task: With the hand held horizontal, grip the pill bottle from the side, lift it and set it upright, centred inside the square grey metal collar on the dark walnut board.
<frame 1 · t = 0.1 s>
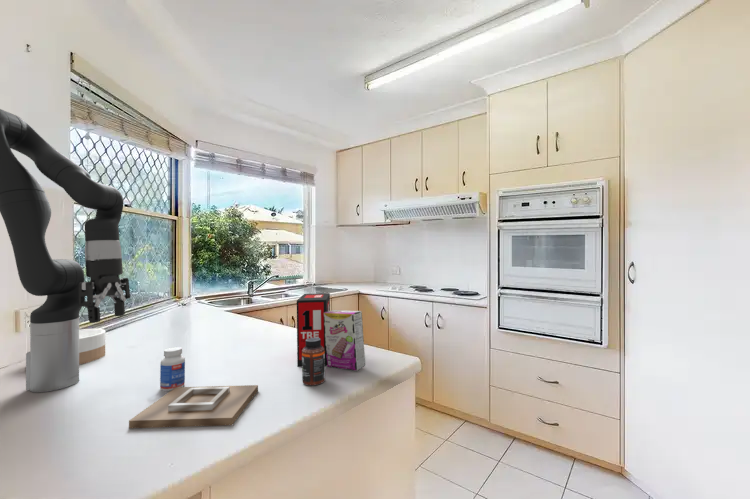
hand: (107, 318, 86), 17 cm above the counter, tool pointing down, fingers open, 8 cm apart
bowl: (71, 360, 107), on the counter
pill bottle: (172, 387, 84), on the counter
supplement bottle: (313, 382, 86), on the counter
candy bar box: (346, 367, 96), on the counter
walnut board: (200, 407, 72), on the counter
cleaning product box: (315, 358, 106), on the counter
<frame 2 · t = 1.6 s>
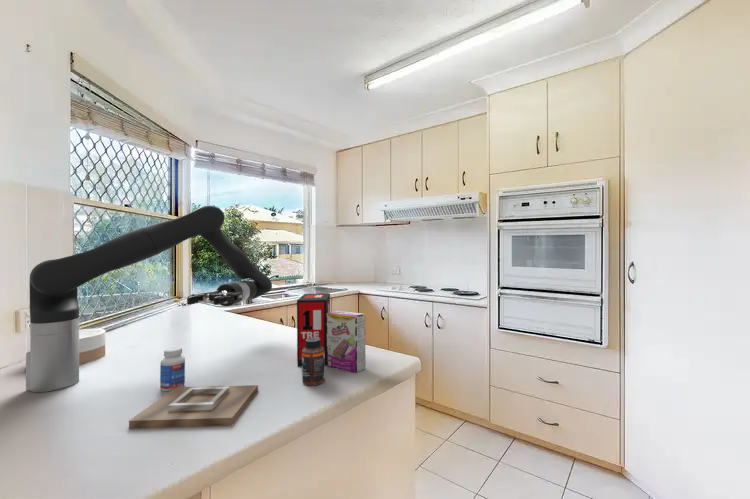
hand: (201, 301, 95), 21 cm above the counter, tool horizontal, fingers open, 8 cm apart
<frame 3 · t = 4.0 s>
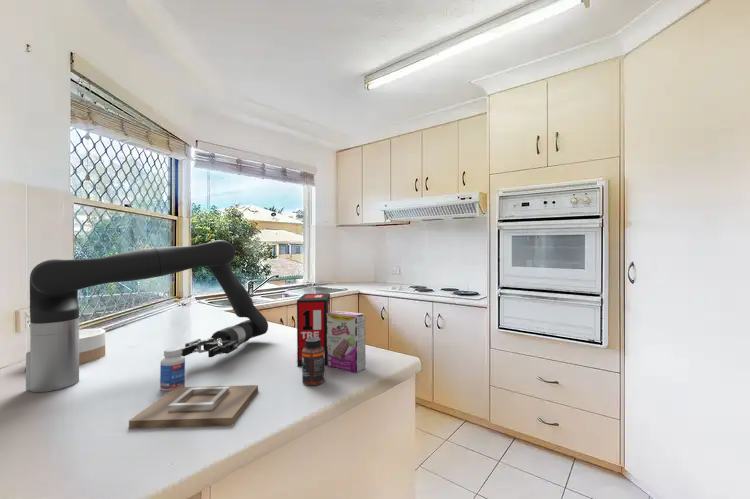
hand: (195, 353, 92), 6 cm above the counter, tool horizontal, fingers open, 8 cm apart
nothing on the counter moved.
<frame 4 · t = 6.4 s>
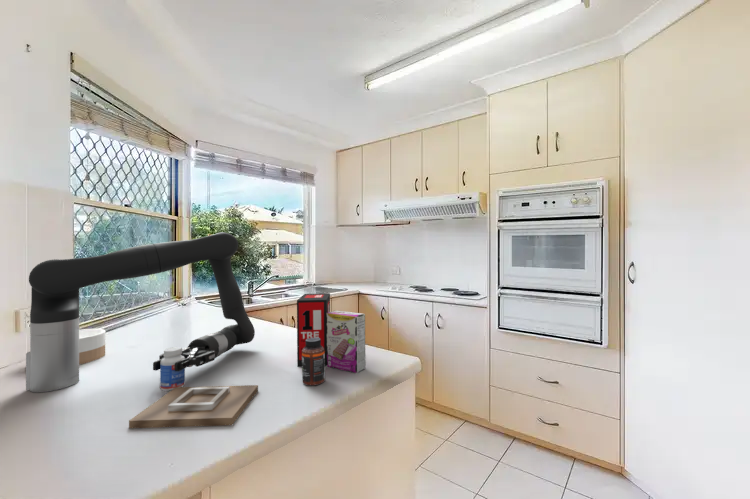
hand: (165, 366, 81), 6 cm above the counter, tool horizontal, fingers closed on pill bottle, 5 cm apart
pill bottle: (172, 387, 84), on the counter, touching gripper
everything else where it was.
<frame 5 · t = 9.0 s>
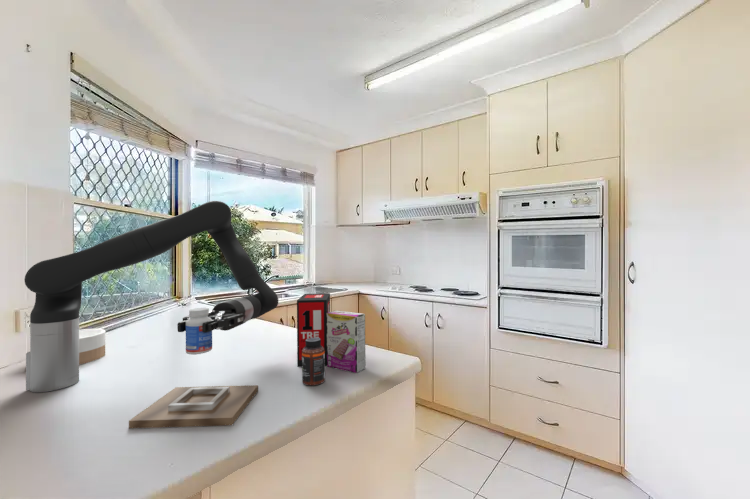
hand: (191, 327, 72), 18 cm above the counter, tool horizontal, fingers closed on pill bottle, 5 cm apart
pill bottle: (199, 352, 75), point 12 cm above the counter, touching gripper
everything else where it was.
when the fingers open (9 cm above the counter, at t = 11.4 s): pill bottle drops 1 cm, resting on walnut board.
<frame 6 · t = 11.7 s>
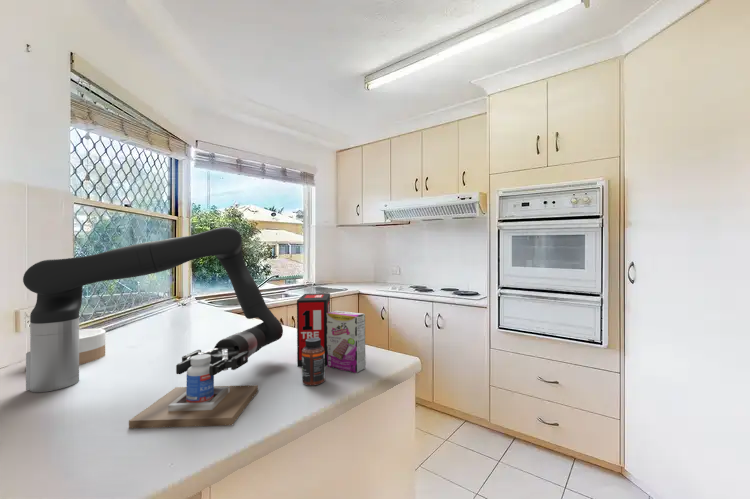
hand: (194, 370, 70), 9 cm above the counter, tool horizontal, fingers open, 7 cm apart
pill bottle: (200, 401, 72), point 1 cm above the counter, touching walnut board
everything else where it was.
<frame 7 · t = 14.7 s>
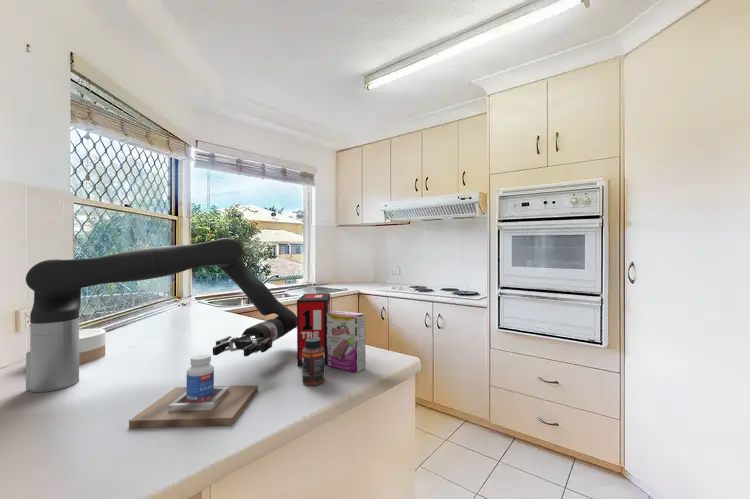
hand: (229, 352, 83), 9 cm above the counter, tool horizontal, fingers open, 8 cm apart
nothing on the counter moved.
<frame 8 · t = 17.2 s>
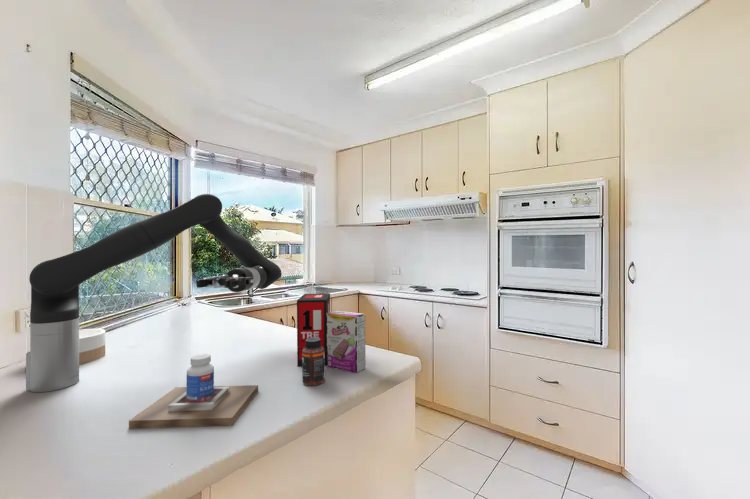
hand: (211, 283, 89), 26 cm above the counter, tool horizontal, fingers open, 8 cm apart
nothing on the counter moved.
at the end: pill bottle 0.3 cm off-centre on the walnut board, point 1.3 cm above the walnut board's base; pill bottle tilted 0°; the gripper is holding nothing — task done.
